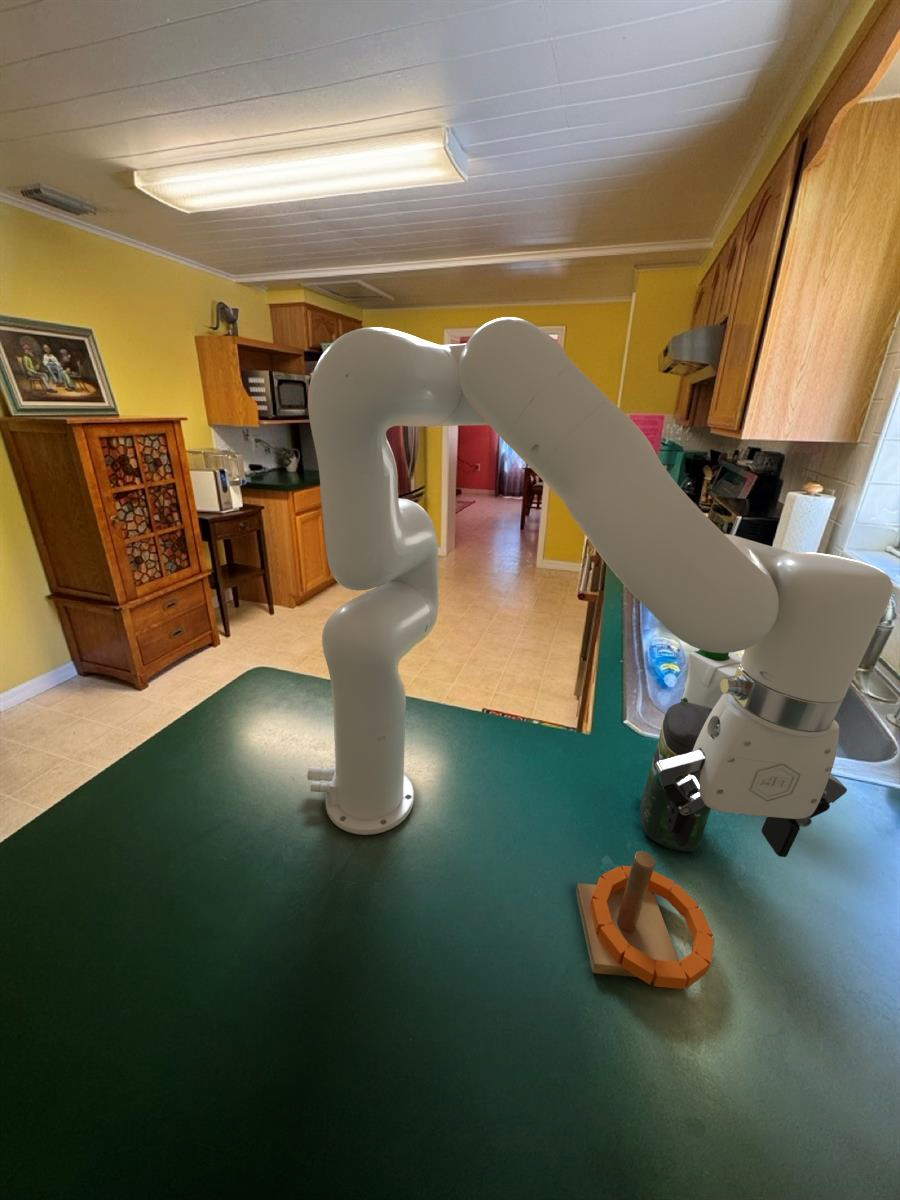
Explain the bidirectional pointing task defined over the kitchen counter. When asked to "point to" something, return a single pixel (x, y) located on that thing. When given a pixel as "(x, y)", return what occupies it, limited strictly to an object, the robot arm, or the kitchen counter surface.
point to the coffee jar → (675, 741)
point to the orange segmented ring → (638, 961)
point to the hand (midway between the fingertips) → (724, 839)
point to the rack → (628, 919)
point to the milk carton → (708, 676)
